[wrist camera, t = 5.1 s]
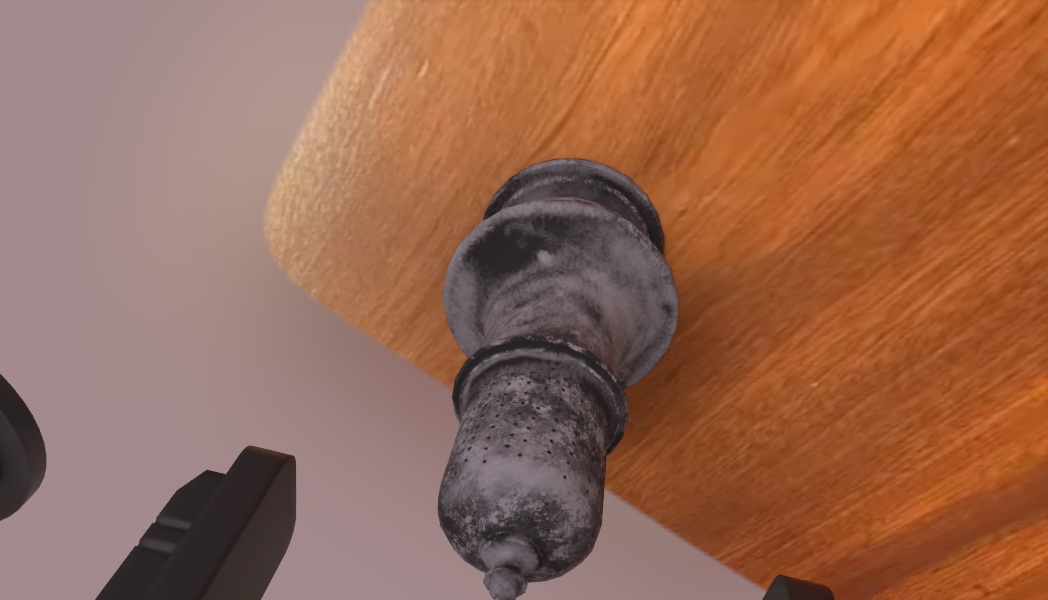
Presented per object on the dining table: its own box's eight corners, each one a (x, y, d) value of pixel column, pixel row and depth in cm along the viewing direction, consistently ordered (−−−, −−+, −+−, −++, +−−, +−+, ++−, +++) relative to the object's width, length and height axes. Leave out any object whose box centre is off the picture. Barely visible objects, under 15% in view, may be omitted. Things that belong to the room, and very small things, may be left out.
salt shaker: (625, 355, 23) (608, 753, 13) (448, 290, 23) (287, 646, 12) (710, 193, 20) (777, 552, 10) (506, 115, 19) (353, 402, 9)
